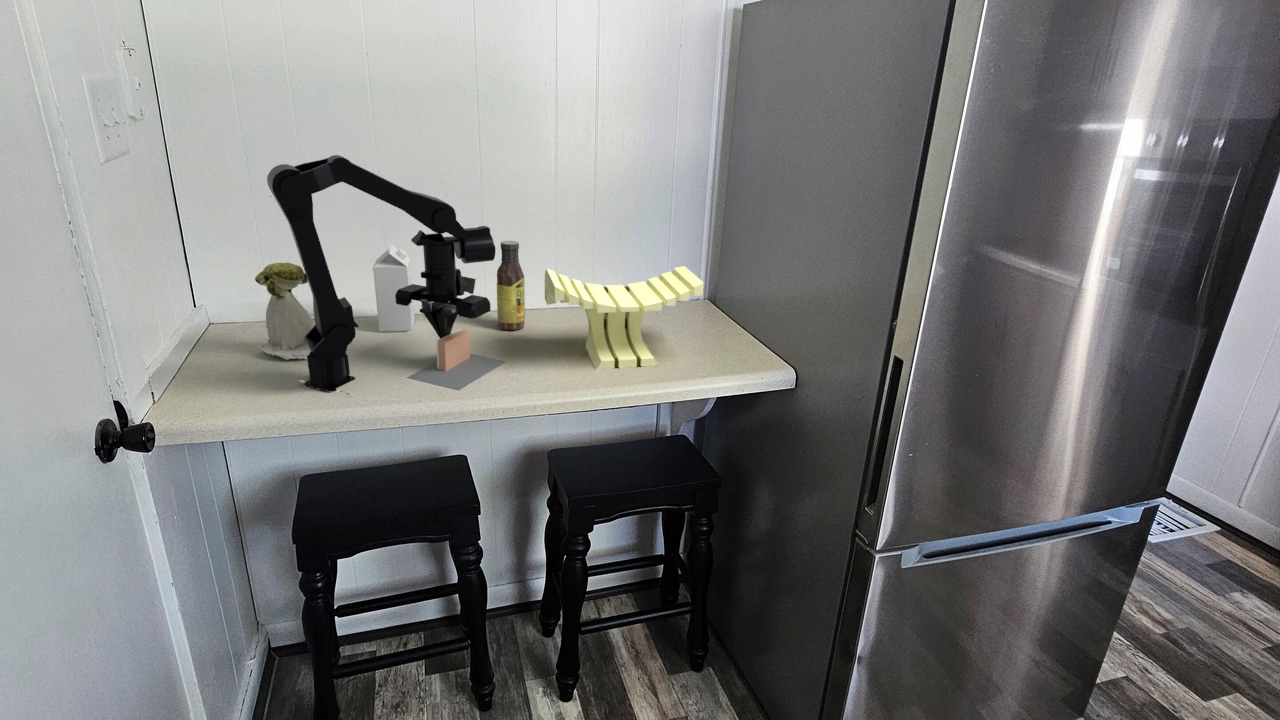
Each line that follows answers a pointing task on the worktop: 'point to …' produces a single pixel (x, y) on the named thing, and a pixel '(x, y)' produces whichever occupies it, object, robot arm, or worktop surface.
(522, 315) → the sauce bottle
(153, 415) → the worktop surface
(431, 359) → the worktop surface
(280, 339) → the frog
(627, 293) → the yellow slatted pedestal stand
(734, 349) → the worktop surface
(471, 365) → the mat
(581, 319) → the worktop surface
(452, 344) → the tile
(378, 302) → the milk carton
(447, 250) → the robot arm
